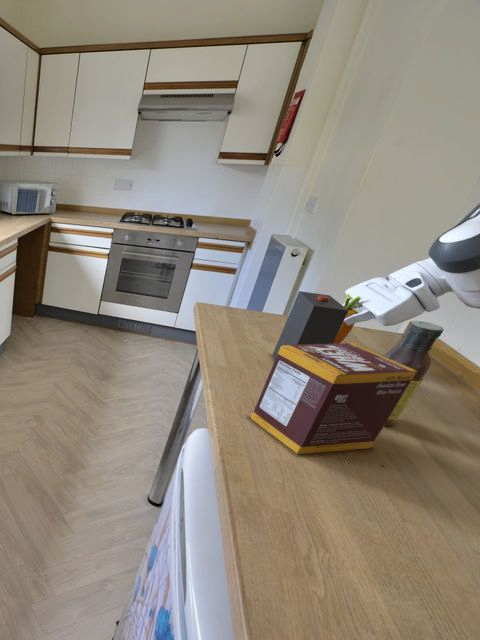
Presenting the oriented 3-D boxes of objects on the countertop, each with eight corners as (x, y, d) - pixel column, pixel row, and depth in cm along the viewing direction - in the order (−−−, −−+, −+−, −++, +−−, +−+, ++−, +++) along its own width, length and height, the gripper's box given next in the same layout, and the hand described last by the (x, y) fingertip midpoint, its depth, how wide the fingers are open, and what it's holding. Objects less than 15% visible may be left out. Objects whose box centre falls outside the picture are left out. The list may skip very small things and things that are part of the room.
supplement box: (372, 448, 71) (419, 370, 64) (297, 455, 68) (338, 374, 61) (317, 413, 80) (353, 341, 73) (249, 418, 77) (280, 344, 71)
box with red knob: (357, 371, 97) (395, 300, 89) (379, 393, 88) (422, 317, 80) (272, 355, 103) (300, 287, 95) (283, 374, 94) (315, 301, 86)
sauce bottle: (353, 404, 84) (403, 314, 75) (395, 418, 80) (452, 324, 71) (350, 416, 79) (402, 323, 71) (393, 432, 75) (454, 334, 67)
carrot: (315, 344, 108) (340, 290, 102) (339, 349, 105) (366, 294, 99) (316, 350, 104) (342, 294, 98) (341, 356, 102) (369, 299, 95)
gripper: (382, 265, 102) (319, 295, 110) (427, 287, 85) (349, 321, 93) (396, 285, 103) (332, 314, 110) (444, 311, 86) (364, 343, 93)
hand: (340, 318), depth 101 cm, fingers closed on carrot, 5 cm apart
